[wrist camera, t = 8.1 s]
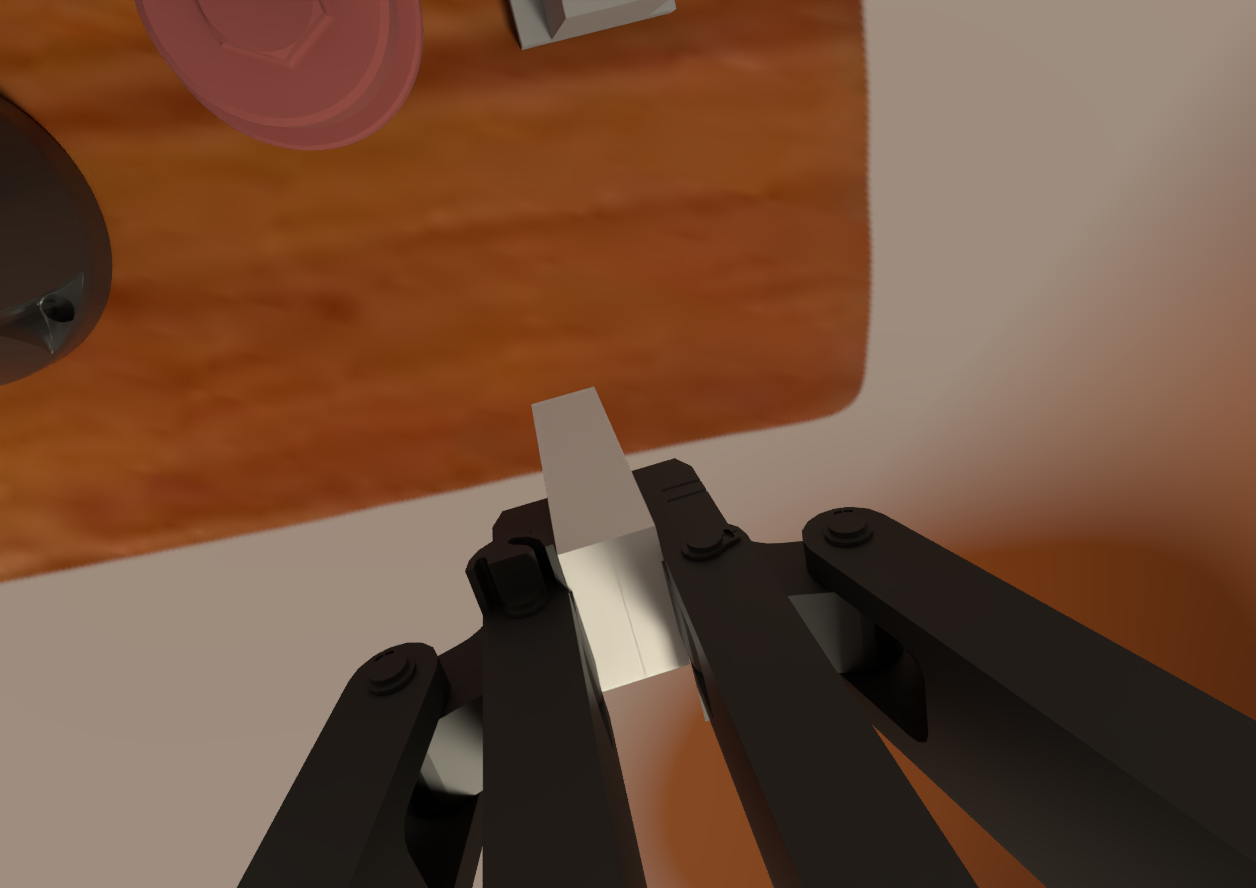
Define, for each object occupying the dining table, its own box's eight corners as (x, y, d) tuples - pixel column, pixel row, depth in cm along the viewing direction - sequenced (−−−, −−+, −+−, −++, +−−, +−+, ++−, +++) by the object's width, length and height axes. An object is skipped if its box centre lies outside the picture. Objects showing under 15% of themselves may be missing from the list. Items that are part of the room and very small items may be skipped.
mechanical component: (348, 190, 38) (170, 31, 34) (476, 43, 36) (304, -143, 32) (290, 212, 26) (13, -23, 22) (471, -1, 25) (207, -293, 21)
